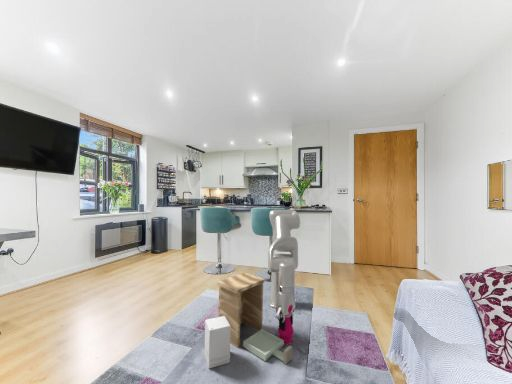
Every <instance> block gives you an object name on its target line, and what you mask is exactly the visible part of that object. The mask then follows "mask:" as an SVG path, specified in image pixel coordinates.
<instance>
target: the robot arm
mask: <svg viewBox="0 0 512 384" xmlns="http://www.w3.org/2000/svg"><path fill="white" fill-rule="evenodd" d="M268 215H269V222H270V225H271V228H272V243H271V244H270V246H269V248H268V251H267V267H268V270H269V272H270V273H271V279H270V280H271V281H270V282H271V283H270V284H271V285H270V287H271V289H270V290H271V291H270V299H269V300H268V305H269V306H270V307H271V308H274V309H275V313H276V314H275V318H276V319H277V320H278V328H279V329H281V330H283V331H285V322H284V321H285V316H286V315H287V314H289V312H288V308H289V306H290V305H292V306H293V309H292V311H291V316H290V320H291V324H292V326H293V324H294V312H295V309H296V306H297V305H296V295H295V294H296V293H295V288H296V287H295V284H296V283H295V281H296V280H295V279H296V278H295V277H296V275H295V274H296V273H295V271H296V269H298V267H299V245H298V240H297V238H296V237H294V236H292V234H291V233H292V232H291V230H298V229H299V228H300V226H301V218H300V216H299V214H298V212H297V211H296V210H294V209H272V210H270V211H269V214H268ZM274 252H280V253H274ZM281 252H283V253H281ZM286 252H287V253H286ZM282 316H283V319H282Z"/></svg>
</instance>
